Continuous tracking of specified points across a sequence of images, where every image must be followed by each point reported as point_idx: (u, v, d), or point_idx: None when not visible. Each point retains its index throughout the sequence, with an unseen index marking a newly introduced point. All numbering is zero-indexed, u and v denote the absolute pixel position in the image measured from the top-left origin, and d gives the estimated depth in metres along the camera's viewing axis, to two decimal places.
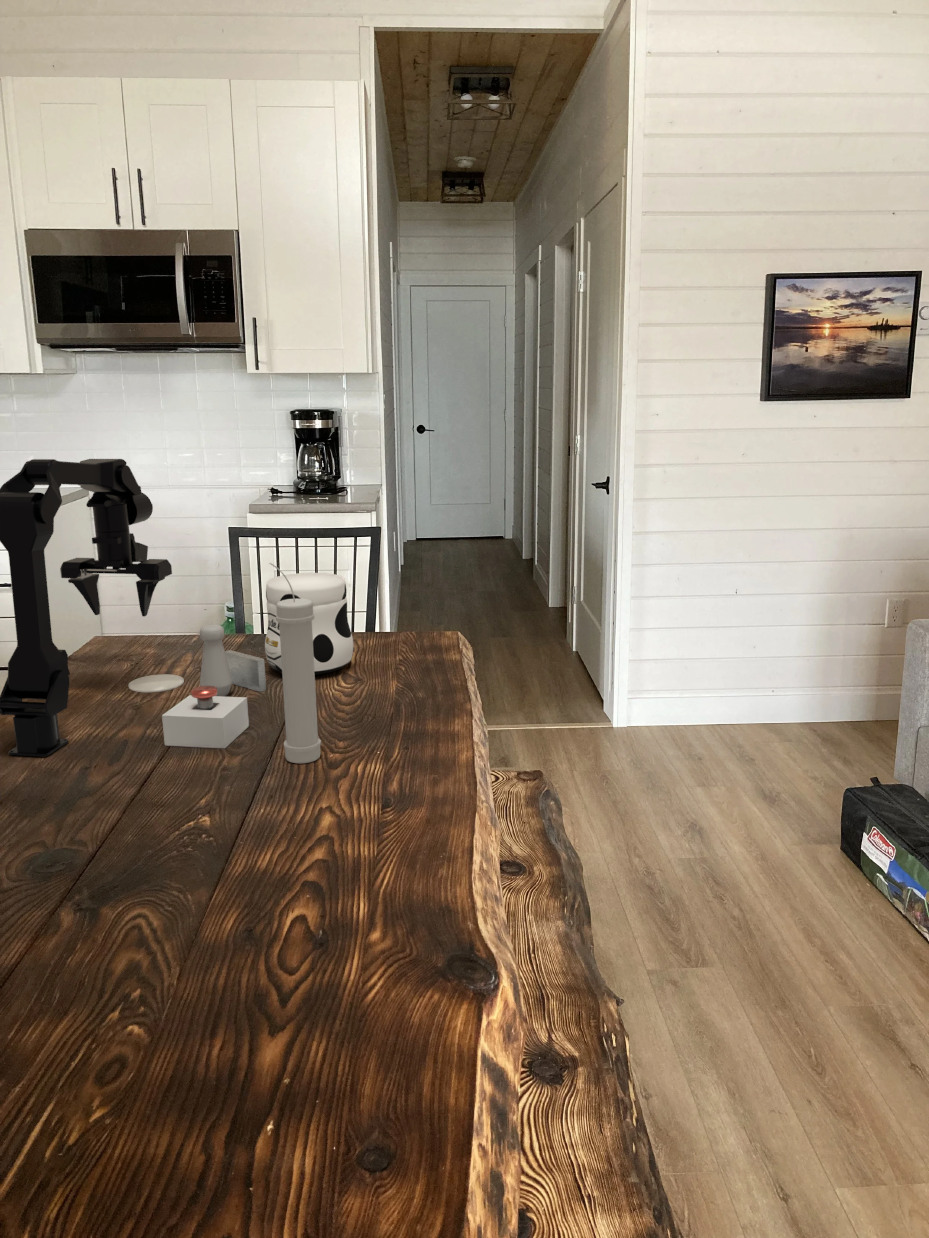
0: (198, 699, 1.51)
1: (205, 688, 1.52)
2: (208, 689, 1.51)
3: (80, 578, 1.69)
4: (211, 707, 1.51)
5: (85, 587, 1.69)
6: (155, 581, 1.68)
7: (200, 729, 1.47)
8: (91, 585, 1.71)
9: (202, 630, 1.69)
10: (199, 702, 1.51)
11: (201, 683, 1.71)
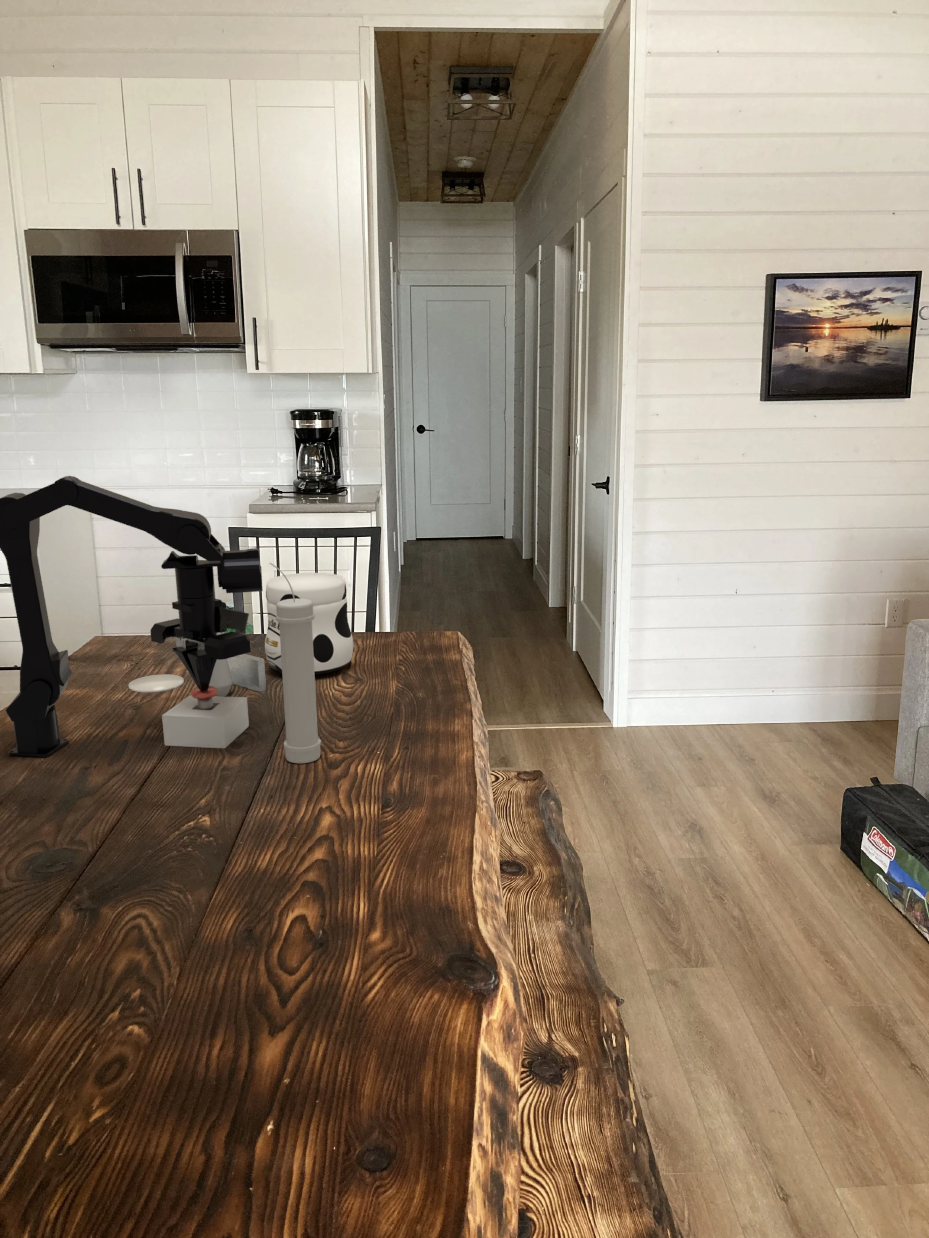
0: (198, 699, 1.51)
1: None
2: (208, 689, 1.51)
3: (183, 648, 1.49)
4: (211, 707, 1.51)
5: (186, 659, 1.48)
6: (207, 655, 1.46)
7: (200, 729, 1.47)
8: None
9: None
10: (199, 702, 1.51)
11: None
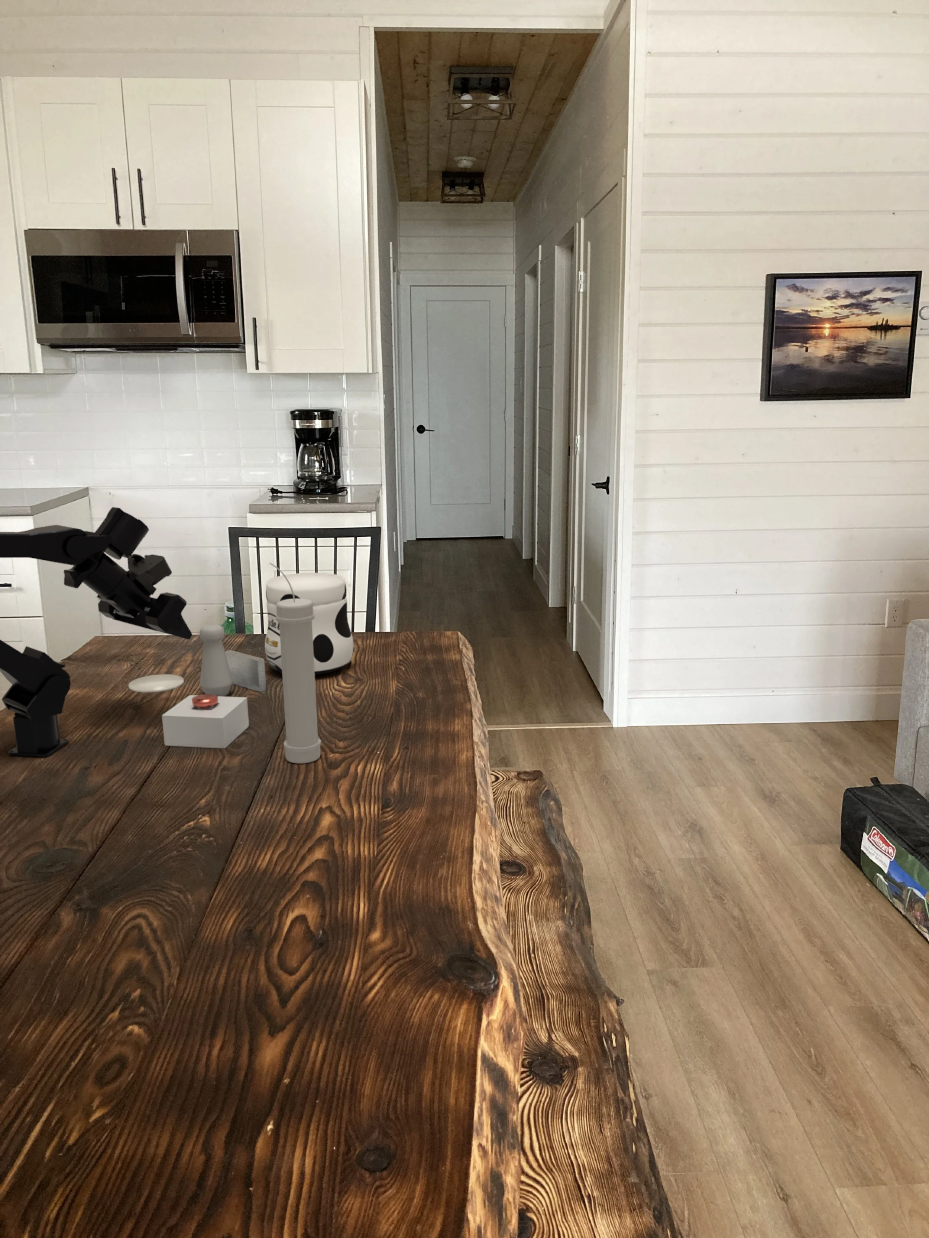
0: (199, 707, 1.51)
1: (206, 696, 1.52)
2: (209, 697, 1.52)
3: (119, 615, 1.62)
4: None
5: (128, 622, 1.62)
6: None
7: (200, 729, 1.47)
8: None
9: (202, 630, 1.69)
10: None
11: (201, 683, 1.71)
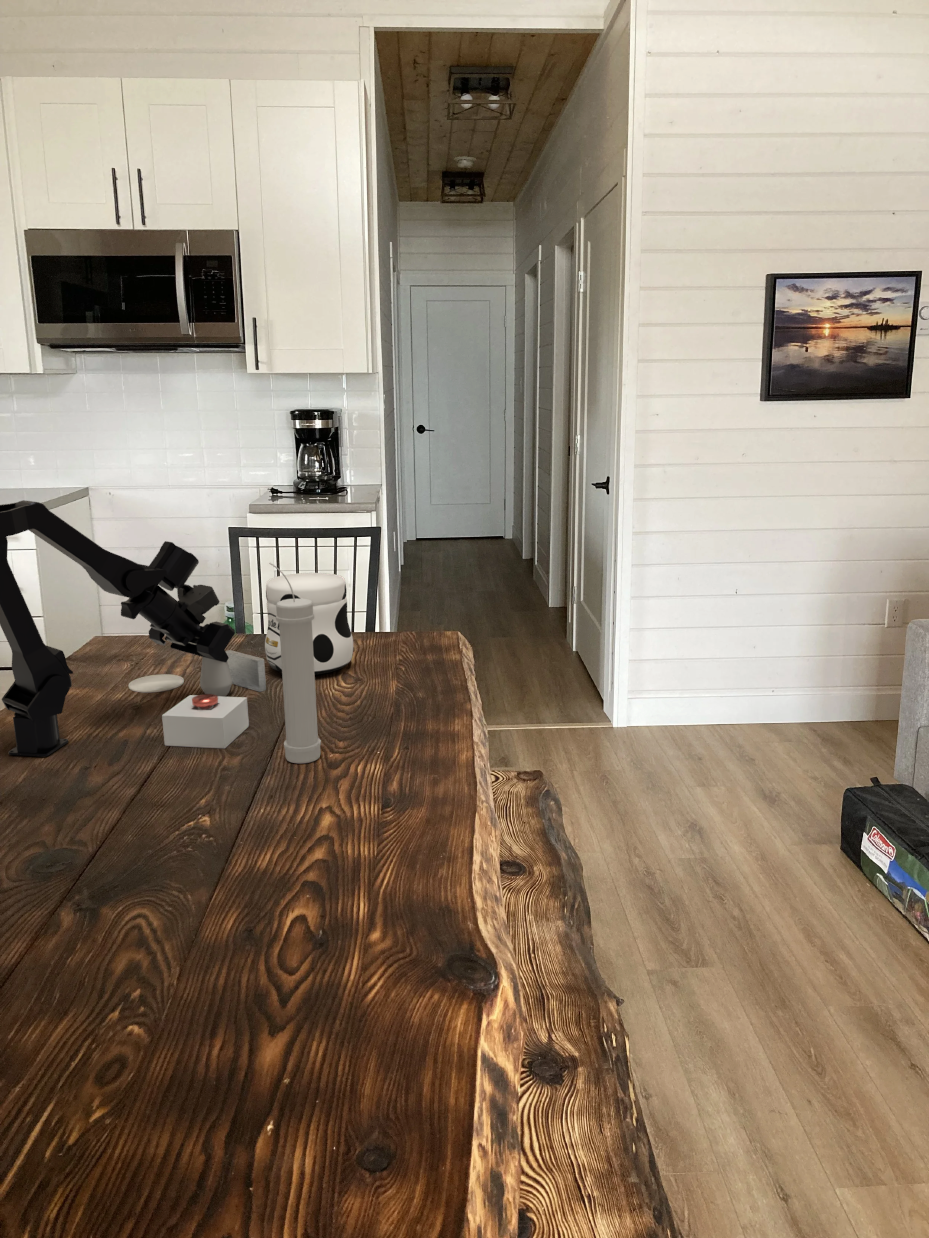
0: (199, 707, 1.51)
1: (206, 696, 1.52)
2: (209, 697, 1.52)
3: (178, 644, 1.69)
4: None
5: (186, 651, 1.69)
6: None
7: (200, 729, 1.47)
8: None
9: None
10: None
11: (201, 683, 1.71)
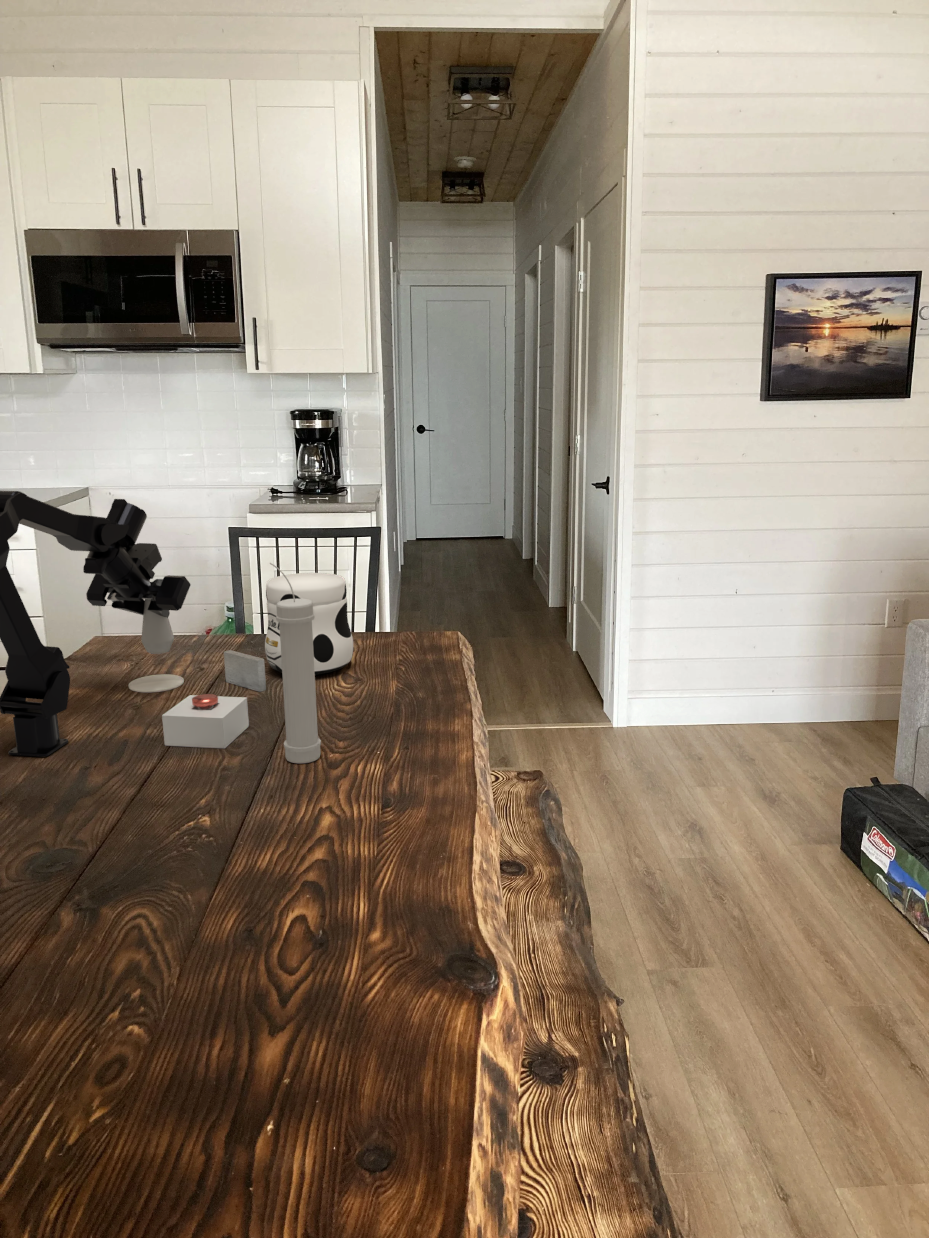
0: (199, 707, 1.51)
1: (206, 696, 1.52)
2: (209, 697, 1.52)
3: (122, 603, 1.71)
4: None
5: (130, 609, 1.72)
6: None
7: (200, 729, 1.47)
8: None
9: None
10: None
11: (146, 640, 1.75)
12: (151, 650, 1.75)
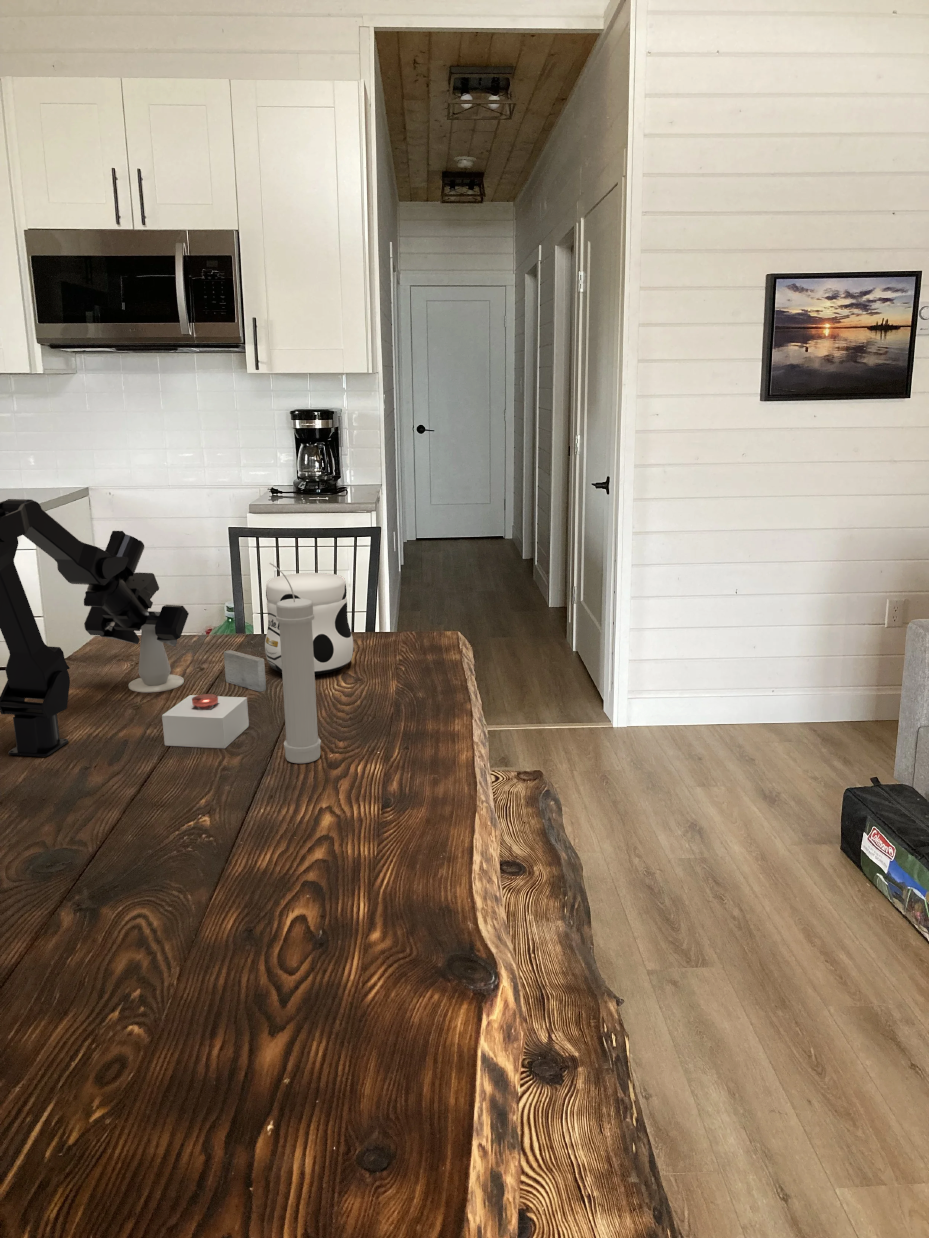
0: (199, 707, 1.51)
1: (206, 696, 1.52)
2: (209, 697, 1.52)
3: (110, 632, 1.73)
4: None
5: (118, 637, 1.74)
6: None
7: (200, 729, 1.47)
8: None
9: None
10: None
11: (143, 672, 1.76)
12: (148, 682, 1.77)
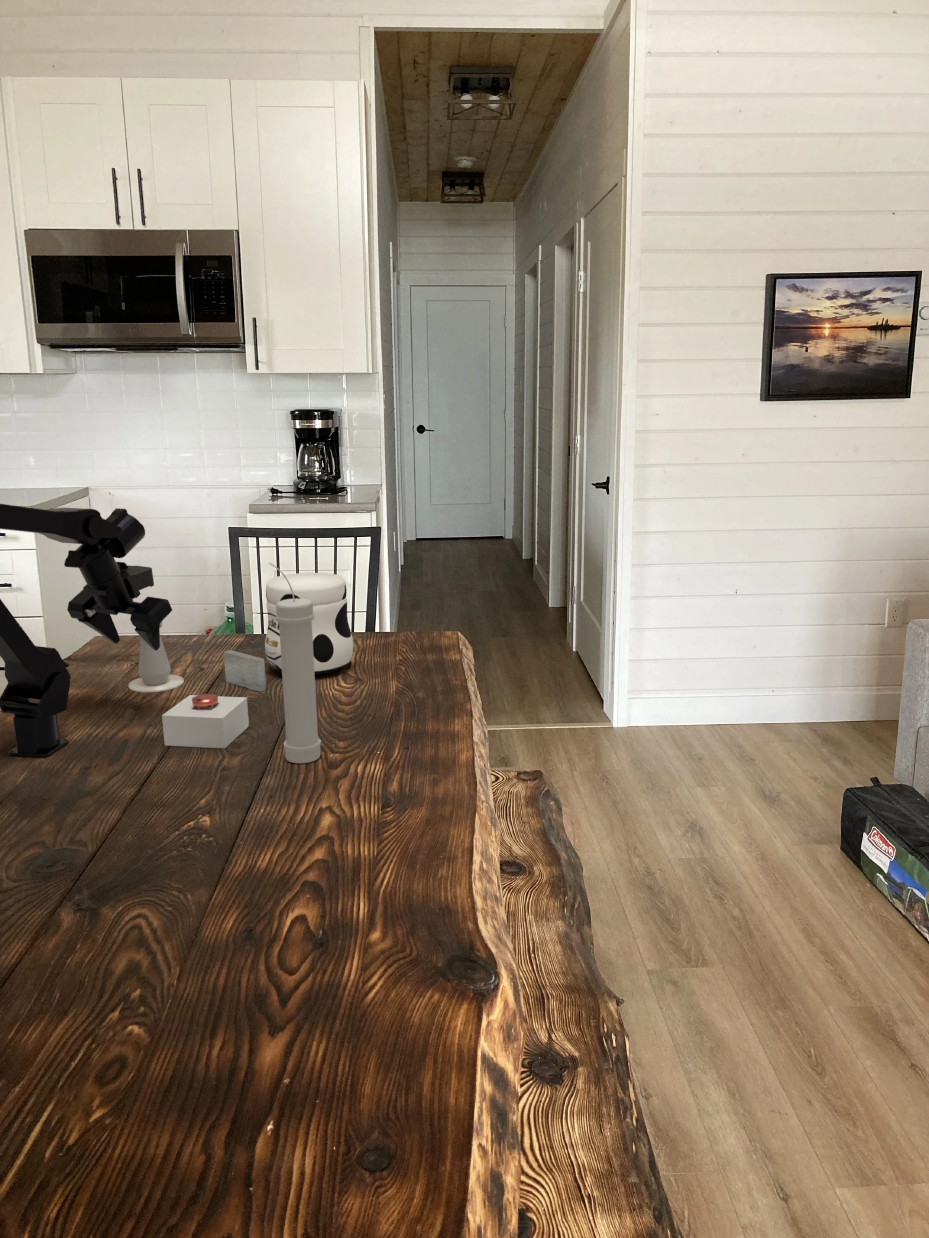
0: (199, 707, 1.51)
1: (206, 696, 1.52)
2: (209, 697, 1.52)
3: (88, 617, 1.64)
4: None
5: (95, 626, 1.65)
6: None
7: (200, 729, 1.47)
8: (102, 619, 1.66)
9: None
10: None
11: (143, 672, 1.76)
12: (148, 682, 1.77)
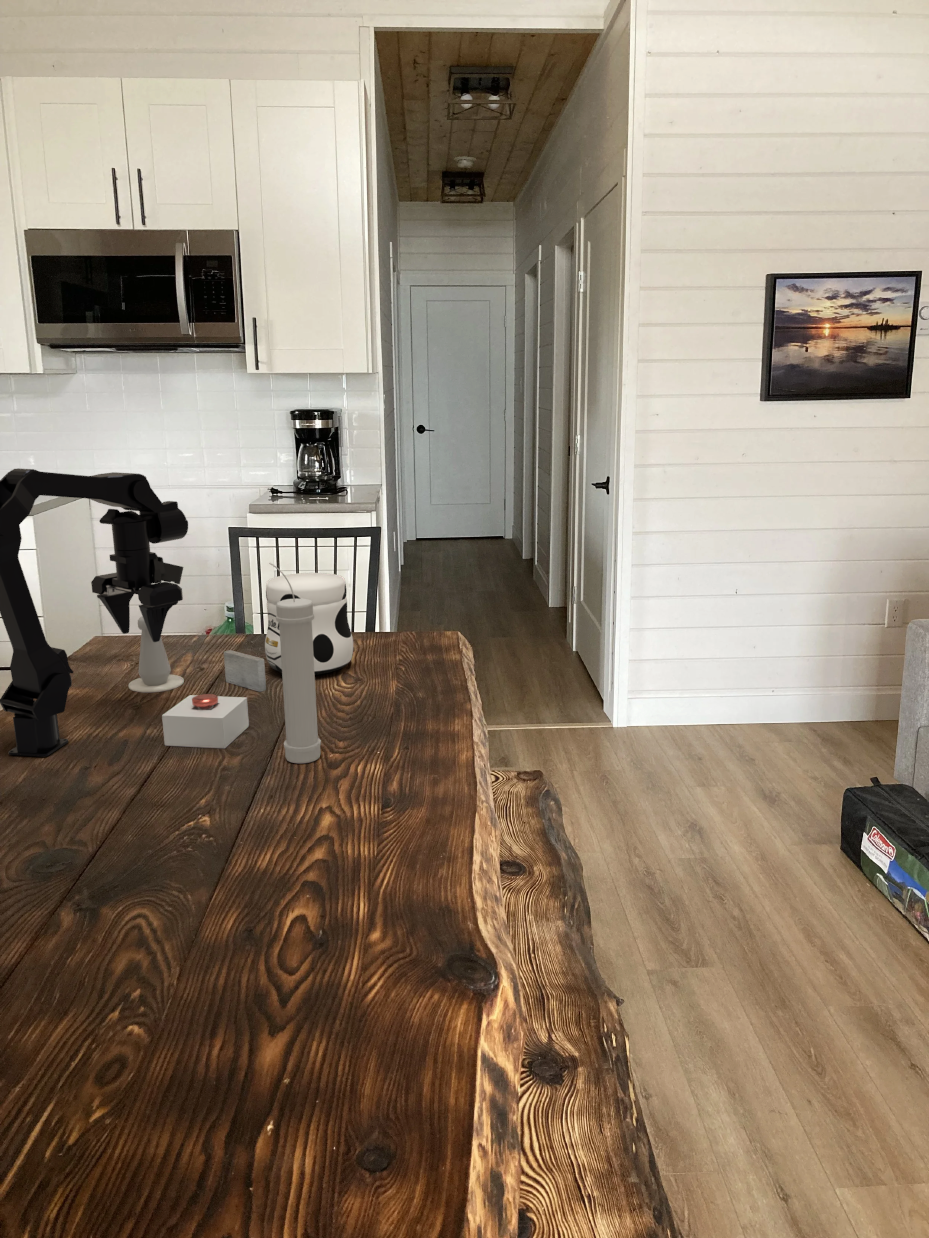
0: (199, 707, 1.51)
1: (206, 696, 1.52)
2: (209, 697, 1.52)
3: (106, 594, 1.63)
4: None
5: (109, 605, 1.63)
6: (157, 607, 1.55)
7: (200, 729, 1.47)
8: (119, 602, 1.64)
9: (142, 621, 1.75)
10: None
11: (143, 672, 1.76)
12: (148, 682, 1.77)
